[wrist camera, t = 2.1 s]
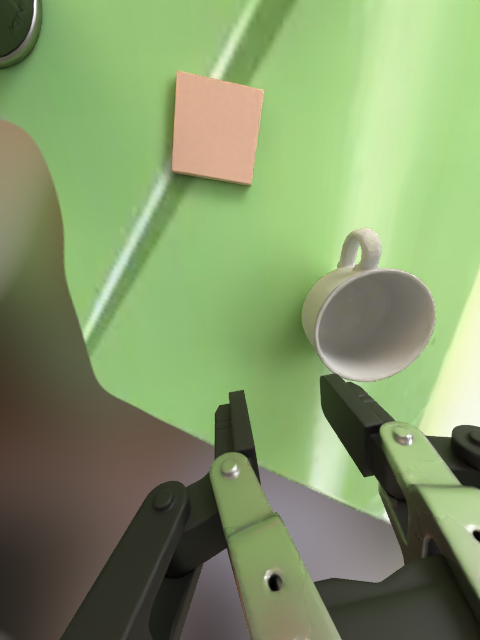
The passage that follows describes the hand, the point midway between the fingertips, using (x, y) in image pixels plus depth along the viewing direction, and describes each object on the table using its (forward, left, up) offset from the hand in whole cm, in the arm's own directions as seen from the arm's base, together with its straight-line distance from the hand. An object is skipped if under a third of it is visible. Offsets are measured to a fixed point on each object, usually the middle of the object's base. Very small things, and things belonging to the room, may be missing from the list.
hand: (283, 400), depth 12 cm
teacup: (+10, +5, -17) cm, 21 cm away
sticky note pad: (-8, +15, -17) cm, 24 cm away
